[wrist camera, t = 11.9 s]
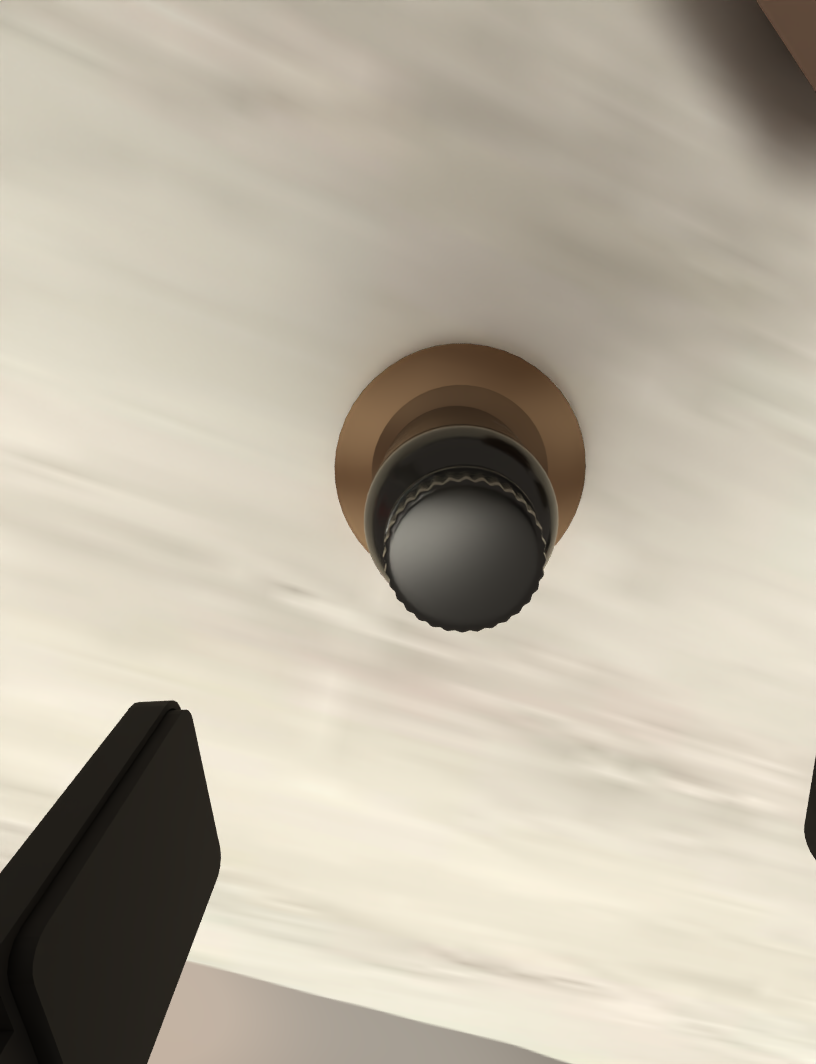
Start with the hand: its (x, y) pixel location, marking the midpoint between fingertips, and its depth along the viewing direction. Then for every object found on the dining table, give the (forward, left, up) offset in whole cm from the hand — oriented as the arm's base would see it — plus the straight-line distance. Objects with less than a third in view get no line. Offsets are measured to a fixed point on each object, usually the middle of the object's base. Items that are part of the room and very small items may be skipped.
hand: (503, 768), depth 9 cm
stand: (0, 0, -23) cm, 23 cm away
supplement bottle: (0, 0, -21) cm, 21 cm away
